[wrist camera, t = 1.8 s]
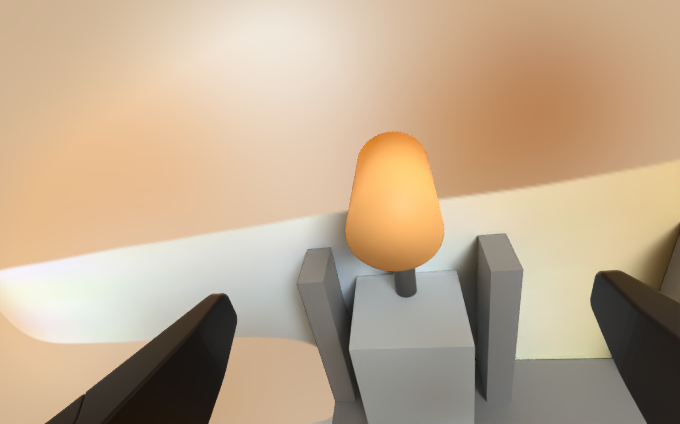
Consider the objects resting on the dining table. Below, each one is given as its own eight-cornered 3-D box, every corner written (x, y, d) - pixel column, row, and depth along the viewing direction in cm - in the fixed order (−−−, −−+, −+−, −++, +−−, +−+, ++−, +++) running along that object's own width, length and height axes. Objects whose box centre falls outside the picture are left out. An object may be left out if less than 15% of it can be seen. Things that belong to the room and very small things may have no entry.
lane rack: (655, 371, 20) (747, 502, 15) (343, 374, 23) (330, 482, 18) (718, 216, 15) (891, 335, 10) (307, 249, 18) (276, 349, 13)
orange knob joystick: (458, 349, 21) (476, 441, 17) (372, 351, 22) (369, 438, 18) (452, 122, 14) (480, 181, 10) (328, 140, 15) (304, 200, 11)
